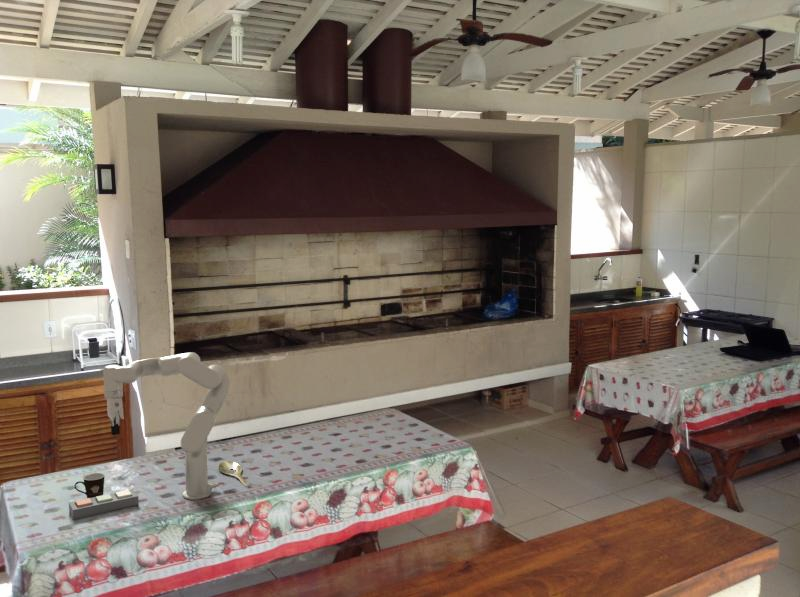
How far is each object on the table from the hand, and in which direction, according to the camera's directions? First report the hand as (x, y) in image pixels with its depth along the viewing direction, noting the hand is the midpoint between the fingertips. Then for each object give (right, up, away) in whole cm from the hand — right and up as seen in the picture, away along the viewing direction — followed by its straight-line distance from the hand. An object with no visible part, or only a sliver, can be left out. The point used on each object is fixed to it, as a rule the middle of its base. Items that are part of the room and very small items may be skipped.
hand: (115, 434), depth 313 cm
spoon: (+46, -26, +30) cm, 61 cm away
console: (-1, -30, -9) cm, 32 cm away
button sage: (-1, -29, -9) cm, 30 cm away
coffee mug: (-12, -29, +3) cm, 32 cm away
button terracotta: (-8, -30, -13) cm, 33 cm away
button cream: (+5, -29, -4) cm, 29 cm away
